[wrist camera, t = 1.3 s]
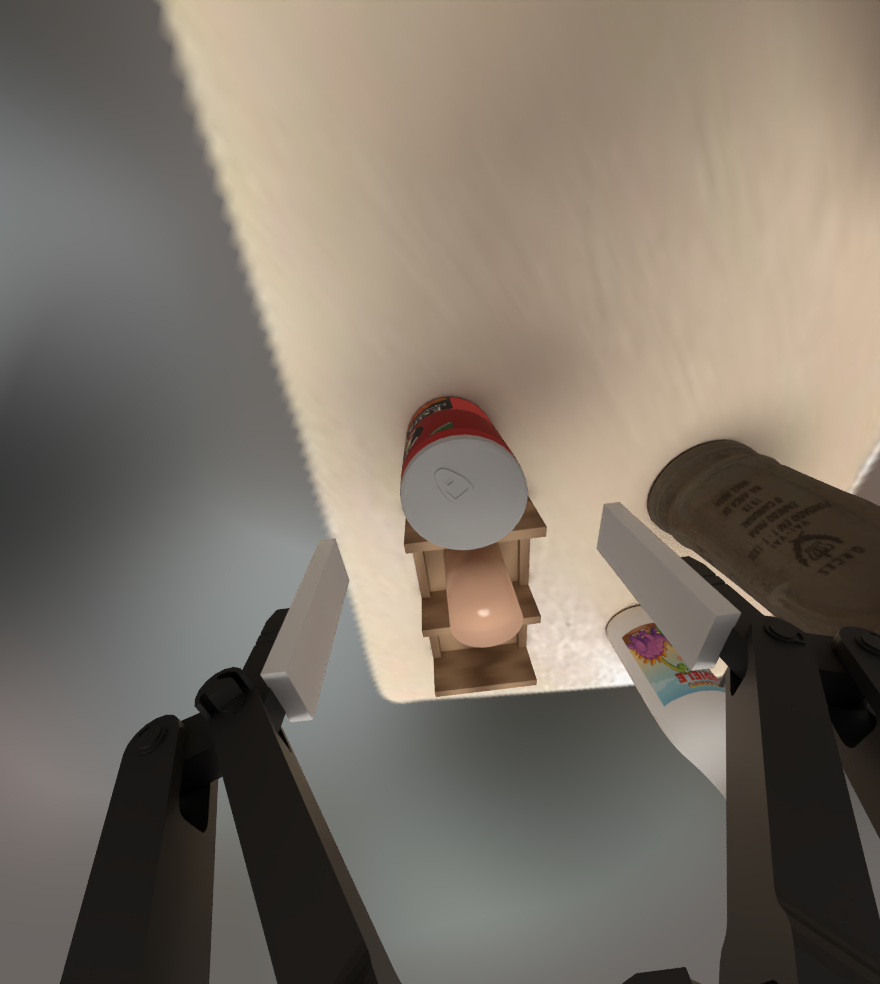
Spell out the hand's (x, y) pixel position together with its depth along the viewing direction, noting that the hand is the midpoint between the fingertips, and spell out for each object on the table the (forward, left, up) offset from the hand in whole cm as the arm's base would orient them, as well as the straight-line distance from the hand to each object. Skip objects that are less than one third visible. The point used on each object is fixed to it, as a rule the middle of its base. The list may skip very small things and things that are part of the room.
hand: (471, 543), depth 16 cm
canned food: (0, 0, -15) cm, 15 cm away
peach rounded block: (-1, +12, -14) cm, 19 cm away
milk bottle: (-22, +29, -15) cm, 39 cm away
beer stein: (-27, +10, -15) cm, 33 cm away
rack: (-1, +18, -15) cm, 23 cm away
